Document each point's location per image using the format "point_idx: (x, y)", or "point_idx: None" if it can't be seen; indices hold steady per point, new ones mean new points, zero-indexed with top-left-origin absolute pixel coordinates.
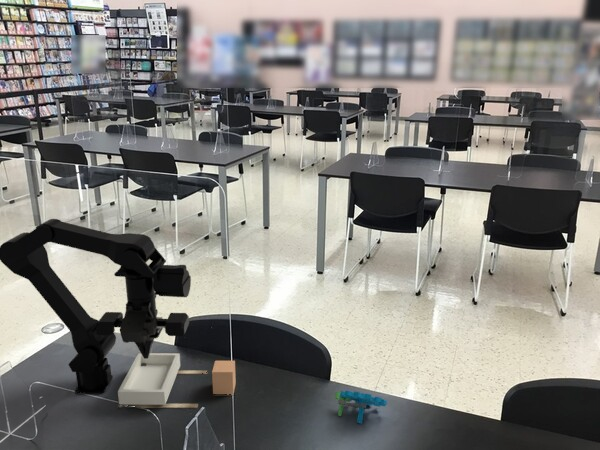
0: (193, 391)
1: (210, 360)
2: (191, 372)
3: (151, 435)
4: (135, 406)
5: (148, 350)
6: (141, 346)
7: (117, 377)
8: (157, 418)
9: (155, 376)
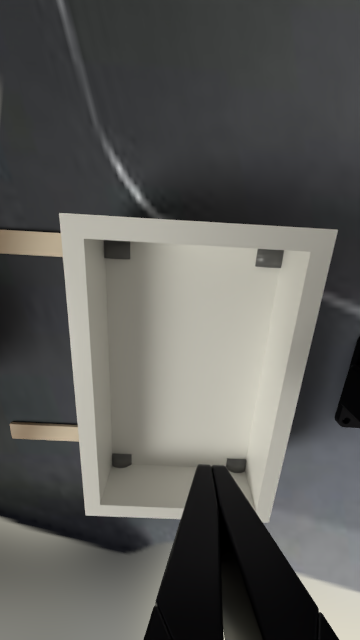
0: (27, 332)
1: (25, 485)
2: (65, 431)
3: (114, 30)
4: None
5: (182, 549)
6: (277, 634)
7: (316, 418)
8: (119, 165)
9: (175, 398)
